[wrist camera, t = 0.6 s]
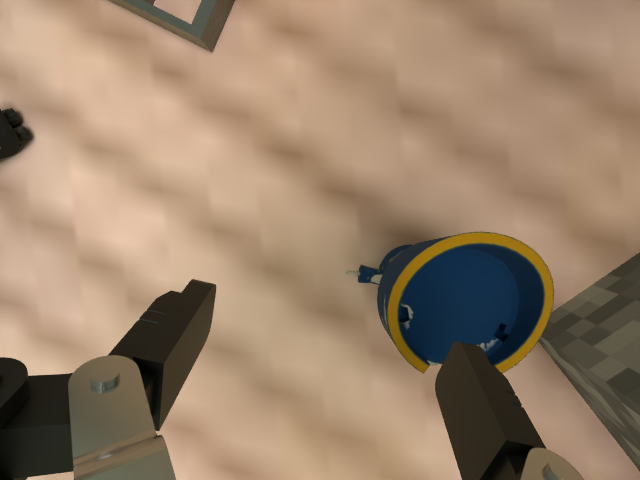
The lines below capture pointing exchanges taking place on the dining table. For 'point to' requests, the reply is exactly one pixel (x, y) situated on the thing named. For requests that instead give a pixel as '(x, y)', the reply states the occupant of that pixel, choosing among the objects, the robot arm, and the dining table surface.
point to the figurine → (463, 297)
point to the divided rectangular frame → (200, 32)
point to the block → (604, 351)
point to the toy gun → (10, 133)
